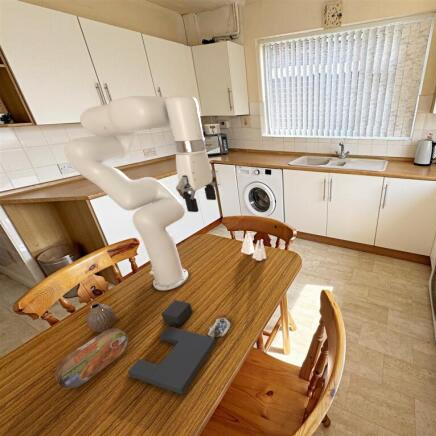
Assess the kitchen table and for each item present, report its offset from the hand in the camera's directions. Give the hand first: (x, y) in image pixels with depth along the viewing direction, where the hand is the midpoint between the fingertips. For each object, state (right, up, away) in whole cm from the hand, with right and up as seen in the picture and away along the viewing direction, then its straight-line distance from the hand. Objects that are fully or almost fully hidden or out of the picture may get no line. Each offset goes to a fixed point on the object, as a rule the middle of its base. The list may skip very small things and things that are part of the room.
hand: (202, 205), depth 72 cm
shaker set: (+10, -21, +35) cm, 42 cm away
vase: (-31, -38, +3) cm, 49 cm away
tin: (-24, -43, -9) cm, 50 cm away
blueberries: (+5, -38, +1) cm, 38 cm away
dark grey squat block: (-10, -36, +5) cm, 38 cm away
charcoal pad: (-4, -42, -8) cm, 43 cm away
